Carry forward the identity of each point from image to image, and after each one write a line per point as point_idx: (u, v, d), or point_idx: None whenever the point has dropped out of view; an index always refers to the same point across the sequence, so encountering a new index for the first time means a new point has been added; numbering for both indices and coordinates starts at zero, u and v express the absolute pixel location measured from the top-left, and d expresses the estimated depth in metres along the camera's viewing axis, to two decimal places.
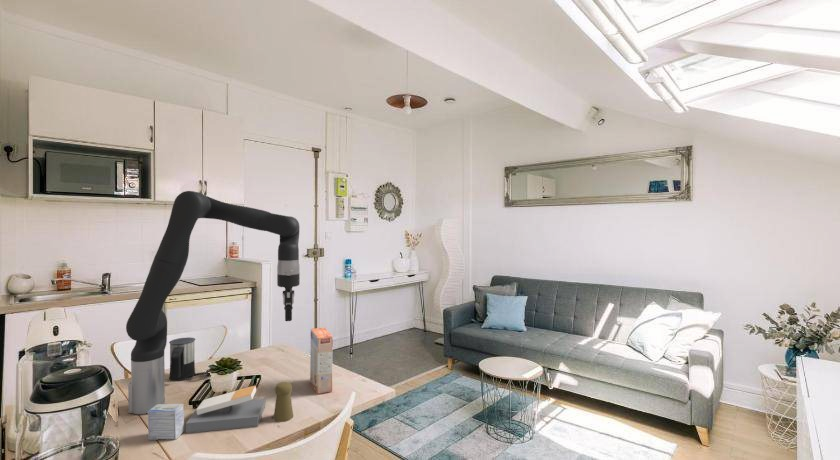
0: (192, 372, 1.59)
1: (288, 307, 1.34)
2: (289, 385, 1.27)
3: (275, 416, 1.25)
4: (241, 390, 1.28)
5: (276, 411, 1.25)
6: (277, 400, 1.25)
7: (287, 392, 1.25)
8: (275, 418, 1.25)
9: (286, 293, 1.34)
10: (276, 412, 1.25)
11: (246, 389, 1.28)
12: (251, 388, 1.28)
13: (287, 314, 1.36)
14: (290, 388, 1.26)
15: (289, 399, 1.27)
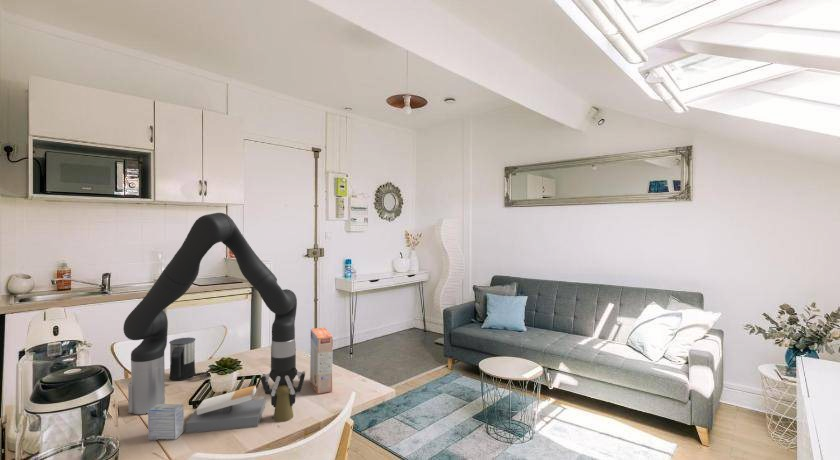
0: (192, 372, 1.59)
1: (300, 388, 1.28)
2: None
3: (275, 416, 1.25)
4: (241, 390, 1.28)
5: (276, 411, 1.25)
6: (277, 400, 1.25)
7: (287, 392, 1.25)
8: (275, 418, 1.25)
9: (304, 375, 1.28)
10: (276, 412, 1.25)
11: (246, 389, 1.28)
12: (251, 388, 1.28)
13: (294, 397, 1.27)
14: None
15: (289, 399, 1.27)
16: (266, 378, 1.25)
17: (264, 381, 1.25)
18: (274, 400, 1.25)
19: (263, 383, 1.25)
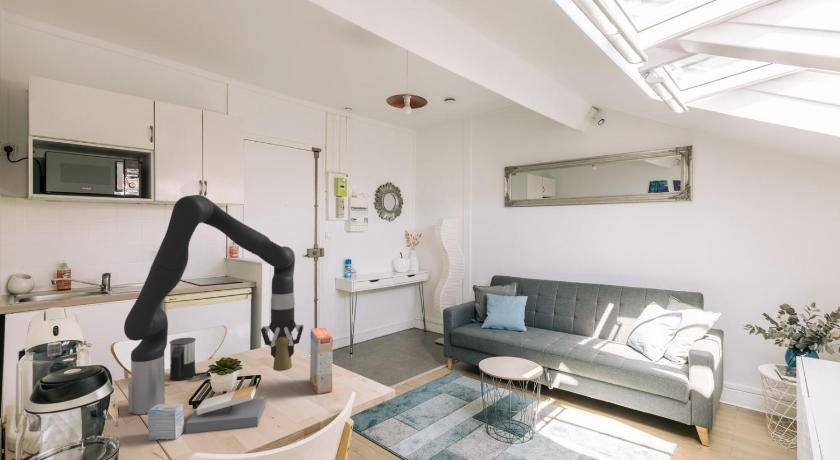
0: (192, 372, 1.59)
1: None
2: None
3: (274, 366, 1.31)
4: (241, 390, 1.28)
5: (275, 361, 1.31)
6: (276, 350, 1.32)
7: (286, 343, 1.32)
8: (274, 367, 1.31)
9: None
10: (275, 362, 1.31)
11: (246, 389, 1.28)
12: (251, 388, 1.28)
13: (293, 348, 1.34)
14: None
15: (288, 350, 1.33)
16: (266, 329, 1.32)
17: (264, 332, 1.31)
18: (274, 350, 1.32)
19: (263, 334, 1.31)
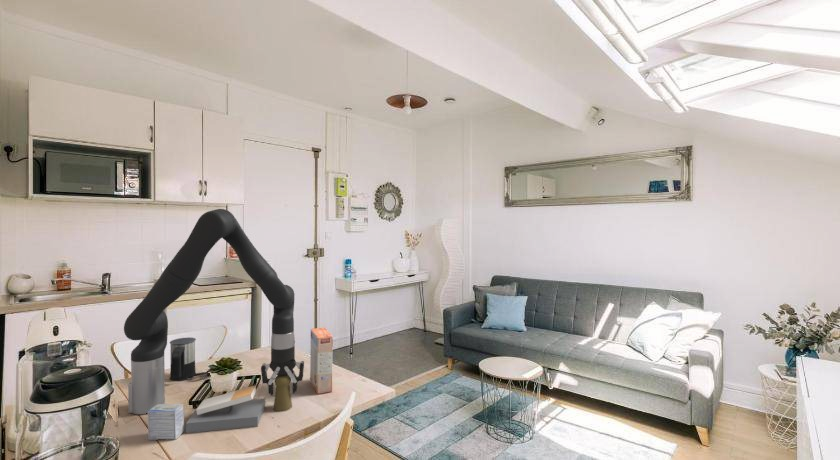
0: (192, 372, 1.59)
1: None
2: (288, 377, 1.33)
3: (275, 406, 1.32)
4: (241, 390, 1.28)
5: (276, 401, 1.32)
6: (277, 391, 1.32)
7: (286, 383, 1.32)
8: (275, 408, 1.32)
9: (303, 364, 1.34)
10: (276, 402, 1.32)
11: (246, 389, 1.28)
12: (251, 388, 1.28)
13: (296, 385, 1.34)
14: (289, 380, 1.33)
15: (288, 390, 1.33)
16: (266, 368, 1.32)
17: (264, 370, 1.31)
18: (271, 389, 1.32)
19: (262, 372, 1.31)
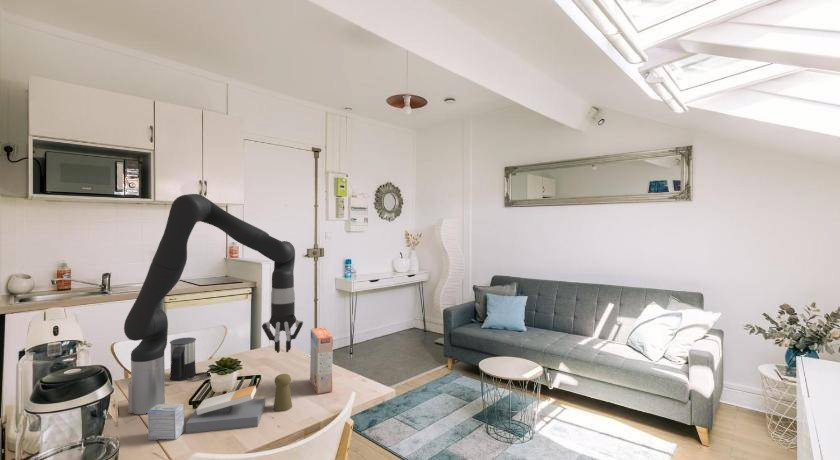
0: (193, 372, 1.59)
1: None
2: (288, 377, 1.33)
3: (275, 406, 1.32)
4: (241, 390, 1.28)
5: (276, 401, 1.32)
6: (277, 391, 1.32)
7: (286, 383, 1.32)
8: (275, 408, 1.32)
9: (302, 324, 1.34)
10: (276, 402, 1.32)
11: (246, 389, 1.28)
12: (251, 388, 1.28)
13: None
14: (289, 380, 1.33)
15: (288, 390, 1.33)
16: (267, 325, 1.32)
17: (266, 328, 1.31)
18: (277, 346, 1.32)
19: (265, 330, 1.31)
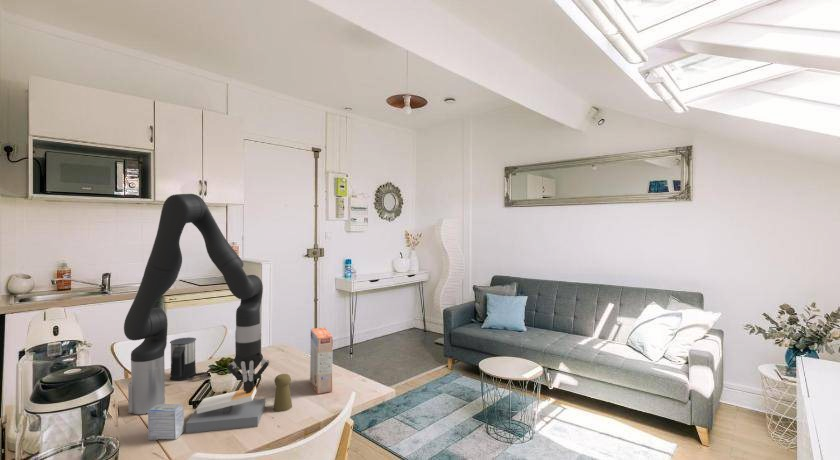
0: (193, 372, 1.59)
1: None
2: (288, 377, 1.33)
3: (275, 406, 1.32)
4: (241, 391, 1.28)
5: (276, 401, 1.32)
6: (277, 391, 1.32)
7: (286, 383, 1.32)
8: (275, 408, 1.32)
9: (268, 364, 1.27)
10: (276, 402, 1.32)
11: None
12: None
13: (253, 384, 1.27)
14: (289, 380, 1.33)
15: (288, 390, 1.33)
16: (233, 365, 1.25)
17: (231, 369, 1.24)
18: (246, 386, 1.25)
19: (231, 371, 1.24)
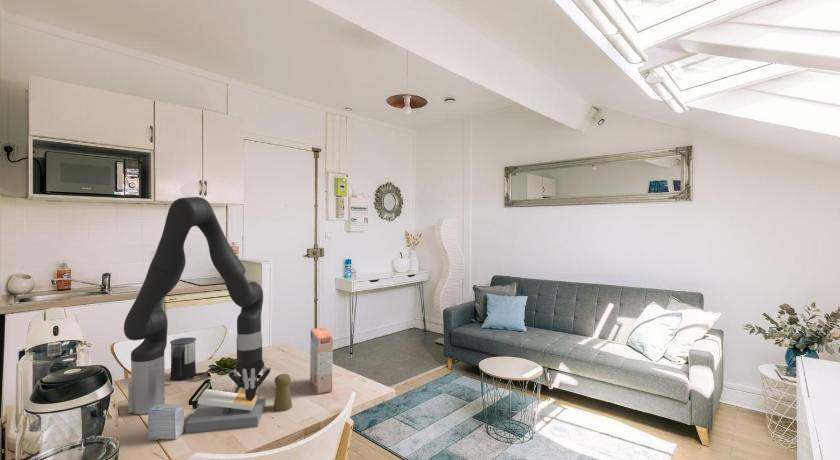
0: (193, 372, 1.59)
1: None
2: (288, 377, 1.33)
3: (275, 406, 1.32)
4: (243, 395, 1.28)
5: (276, 401, 1.32)
6: (277, 391, 1.32)
7: (286, 383, 1.32)
8: (275, 408, 1.32)
9: (269, 371, 1.27)
10: (276, 402, 1.32)
11: None
12: None
13: (254, 391, 1.27)
14: (289, 380, 1.33)
15: (288, 390, 1.33)
16: (234, 373, 1.25)
17: (233, 376, 1.25)
18: (248, 393, 1.26)
19: (233, 379, 1.25)
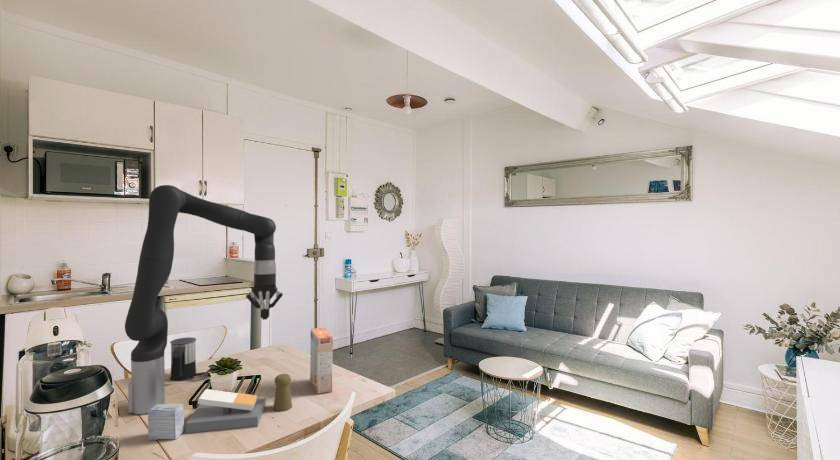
0: (193, 372, 1.59)
1: None
2: (288, 377, 1.33)
3: (275, 406, 1.32)
4: (243, 395, 1.28)
5: (276, 401, 1.32)
6: (277, 391, 1.32)
7: (286, 383, 1.32)
8: (275, 408, 1.32)
9: None
10: (276, 402, 1.32)
11: (248, 396, 1.28)
12: (253, 397, 1.28)
13: (268, 312, 1.45)
14: (289, 380, 1.33)
15: (288, 390, 1.33)
16: (251, 295, 1.44)
17: (250, 297, 1.43)
18: (263, 313, 1.44)
19: (250, 300, 1.43)
